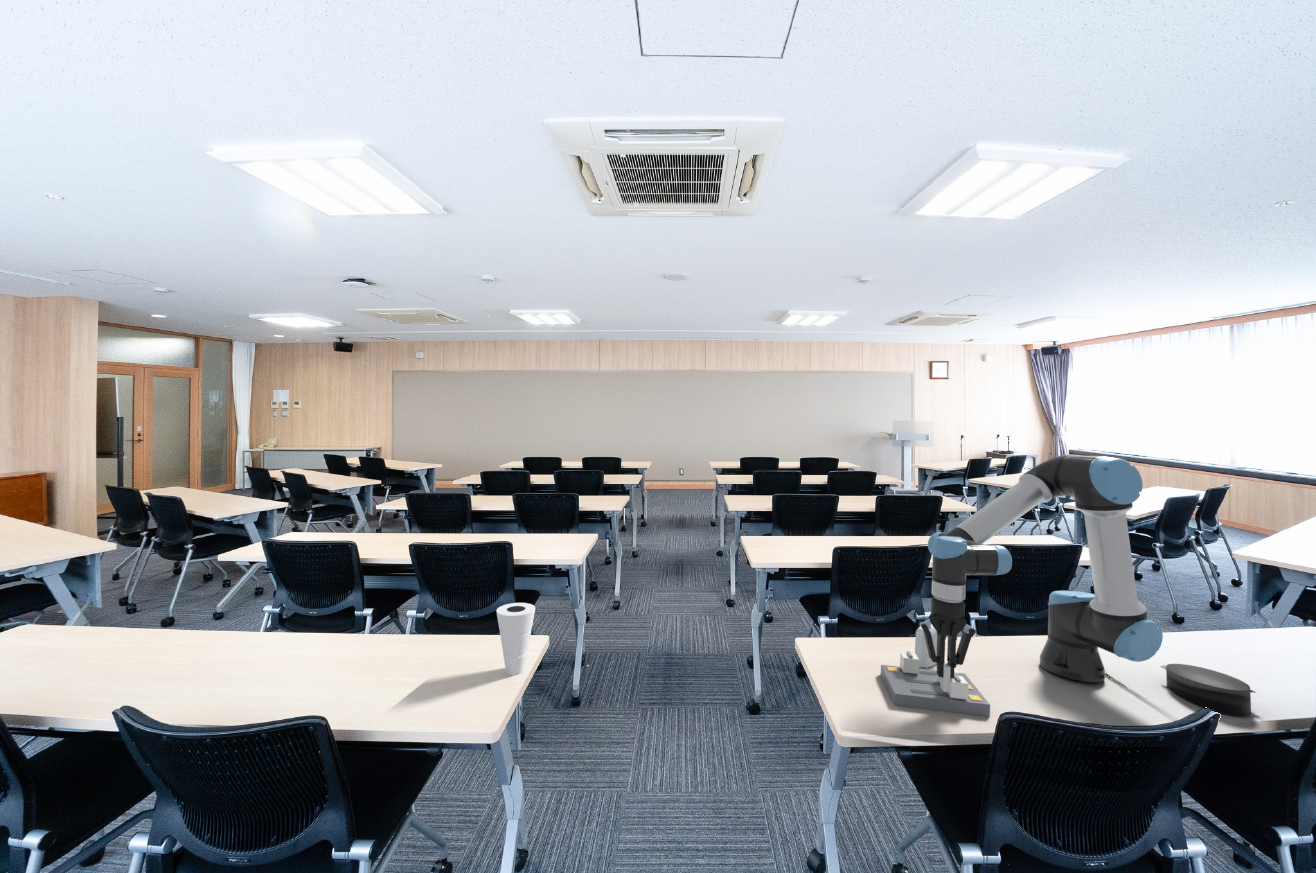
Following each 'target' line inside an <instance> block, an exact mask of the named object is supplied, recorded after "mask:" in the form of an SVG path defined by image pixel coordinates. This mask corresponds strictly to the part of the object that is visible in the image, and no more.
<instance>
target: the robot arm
mask: <svg viewBox="0 0 1316 873" xmlns="http://www.w3.org/2000/svg"><path fill="white" fill-rule="evenodd" d="M1143 484H1144V483H1143V478H1142V476H1141V473H1140V472H1139V470H1138V468H1136V466H1135V465H1134V464H1132V463H1130V462H1129V461H1128V460H1126V459H1123V458H1118V457H1112V456H1107V455H1105V456H1104V455H1103V456H1102V455H1081V454H1080V455H1078V454H1077V455H1076V454H1065V455H1064V454H1063V455H1058V456H1055V457H1052V458H1050V459H1047V460H1045V461H1043V462H1041V463H1039V464H1037V465H1036V466H1034V467H1032V468H1031V469H1029V470H1027V471H1026V472H1024V473H1023V474H1021V475H1020V476H1019V478H1018V482H1017V483H1015V484H1014V485H1012V486H1011V487H1010V488H1009V489H1007V490H1005V491H1004V492H1003V493H1001V494H1000V495H998V496H997V497H996V498H994V499H993V500H991V501H990V502H989V503H988V504H986V505H984V506H983V507H981V508H980V509H979V510H977V511H976V512H974V513H973V514H972V515H970V516H969V517H968V518H966V519H965V520H963V521H962V522H961V523H959V524H958V525H957V526H955V527H953V528H952V529H950V530H949V531H948V532H944V531H943V532H941V531H938V532H934V533H933V534H931V536H930V537H929V539H928V541H927V548H928V551H929V552H930V554H931V555H932V562H931V563H932V566H931V567H932V569H931V570H932V571H931V573H932V574H931V575H932V576H931V580H932V581H931V595H932V596H931V598H930V614H929V616H928V619H926V620H924V621H923V620H920V621H919V622H918V624H919V627H920V626H921V628H922V629H923V632H924V636H925V641H926V645H927V649H928V654H929V657H930V659H931V660H932V661H933V662H936V663H937V665H936V670H937V675H938V676H939V677H940V687H941V689H942V690H943V692H950V678H954V669H955V668H956V669H957V666H958V665H959V666H962V665H964V662H965V659H966V656H967V654H968V653H967V652H968V649H969V646H970V643H971V639H973V636H974V635H975V634H976V633H977V630H976V629H975V628H974V627H973V626H971V625H969V624H967V620H966V619H965V615H966V614H965V611H966V610H965V608H966V603H965V601H964V600H966V584H967V583H966V582H967V576H998V575H1005V574H1008V573H1009V572H1010V571H1011V569H1012V567H1013V558H1012V555H1011V553H1010V551H1009V549H1007V548H1006V547H1005V546H1002V545H1000V544H999V545H998V544H993V543H991V544H985V543H986V542H987V541H989V540H990V539H991V538H993V537H994V536H995V535H997V534H998V533H1000V532H1001V531H1003V530H1004V529H1005V528H1006V527H1009V525H1011V524H1013V523H1014V522H1015V521H1017V520H1018V519H1019V518H1021V517H1022V516H1024V515H1025V514H1026V513H1028V512H1029V511H1031V510H1032V509H1034V508H1035V507H1037V506H1038V505H1039V504H1041V503H1043V504H1044V503H1049V502H1051V501H1052V500H1053V499H1055V498H1058V497H1064V496H1065V497H1067V496H1068V497H1074V503H1075V508H1076V509H1077V510H1078V511H1080V512H1082V513H1083V517H1084V523H1085V524H1084V525H1085V532H1086V533H1085V534H1086V539H1087V546H1088V553H1089V561H1090V567H1091V568H1090V569H1091V576H1092V584H1093V589H1094V590H1093V591H1094V593H1089V592H1085V591H1077V590H1076V591H1075V590H1054V591H1051V593H1050V594H1049V597H1048V598H1049V599H1048V603H1047V607H1048V608H1047V613H1048V614H1047V640H1046V642H1045V643H1044V646H1043V649H1042V650H1041V653H1040V654H1039V665H1040V666H1041V667H1043V668H1044V669H1045V670H1046V671H1048V672H1051V673H1053V674H1055V675H1058V676H1059V677H1063V678H1067V679H1070V680H1075V681H1080V682H1086V683H1088V682H1089V683H1099V682H1103V681H1104V680H1106V679H1105V678H1106V669H1105V666H1104V663H1103V661H1102V658H1101V655H1100V652H1099V648H1100V649H1102V650H1104V651H1106V652H1108V653H1111V654H1113V655H1115V656H1117V658H1118V657H1119V658H1123V659H1126V660H1128V661H1131V662H1136V663H1139V662H1145V661H1148V660H1150V659H1151V658H1153V657H1154V656H1155V655H1156V653H1157V652H1158V651H1159V650H1160V648H1161V647H1162V644H1163V637H1164V636H1163V630H1162V628H1161V626H1160V625H1158V624H1157V623H1156V622H1155V621H1154V620H1152V619H1148V611H1147V607H1146V605H1144V604H1143V603H1141V602H1140V601H1139V600H1138V596H1137V594H1138V593H1137V587H1136V578H1135V571H1134V567H1133V566H1134V565H1133V556H1132V549H1131V544H1130V542H1131V541H1130V535H1129V528H1128V527H1129V526H1128V520H1127V512H1128V511H1130V510H1131V509H1133V505H1134V504H1133V503H1135V501H1137V500H1138V499H1139V498H1140V496H1141V494H1140V493H1141V492H1142V491H1143ZM931 624H932V625H933V627H934V628H935V630H936V631H937V656H936V654H935V649H934V645H933V640H932V636H931V633H930V631H929V630H930V629H931ZM961 631H962V634H961V636H960V641H959V643H958V647H957V640H958V635H959V633H960V632H961ZM946 639H947V646H946ZM946 648H947V650H946ZM946 651H947V653H946ZM945 657H946V658H945ZM945 659H946V661H945Z"/></svg>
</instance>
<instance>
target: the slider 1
mask: <svg viewBox="0 0 1316 873" xmlns="http://www.w3.org/2000/svg"><path fill="white" fill-rule="evenodd" d="M899 667H901V669H902V671H903V672H905V673H914V674H919V669H920V667H919V658H918V657H917V655H916V654H915V652H914V653H913V652H911V651H910V650H909V651H908V650H907V651H906V652H903V651H900V652H899Z"/></svg>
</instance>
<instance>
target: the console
mask: <svg viewBox="0 0 1316 873" xmlns="http://www.w3.org/2000/svg"><path fill="white" fill-rule="evenodd" d="M880 676H881V679H882V678H883V679H882V681H883V683H884V686H885V687H886V689H887V692H888V693H889V696H890V697H891V700H892V702H893V705H894V706H896V707H897V706H898V707H907V708H913V709H922V710H931V711H938V712H939V711H941V712H948V713H956V714H965V715H975V716H981V717H982V716H983V717H990V716H991V704H990V703H989V701H988V699H986V697H984V695H983V694H982V693H981V692H980V690H979V689H978V688H977V686H976V685H975V684H974V683H973V682H972V680H971V679H970V678H969V676H967V674H966V673H964V672H959V676H963V678H964V679H965V680H966V682H967V683H968V700H967V699H958V698H950V696H949V695H948V693H947V692H943V690H942V689H941V687H940V682H939V681H938V679H937V669H936V670H935V669H928V668H919V674H914V673H905V672H903V671H902V669H901V667H900V666H898V665H897V666H896V665H888V664H880Z"/></svg>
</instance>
